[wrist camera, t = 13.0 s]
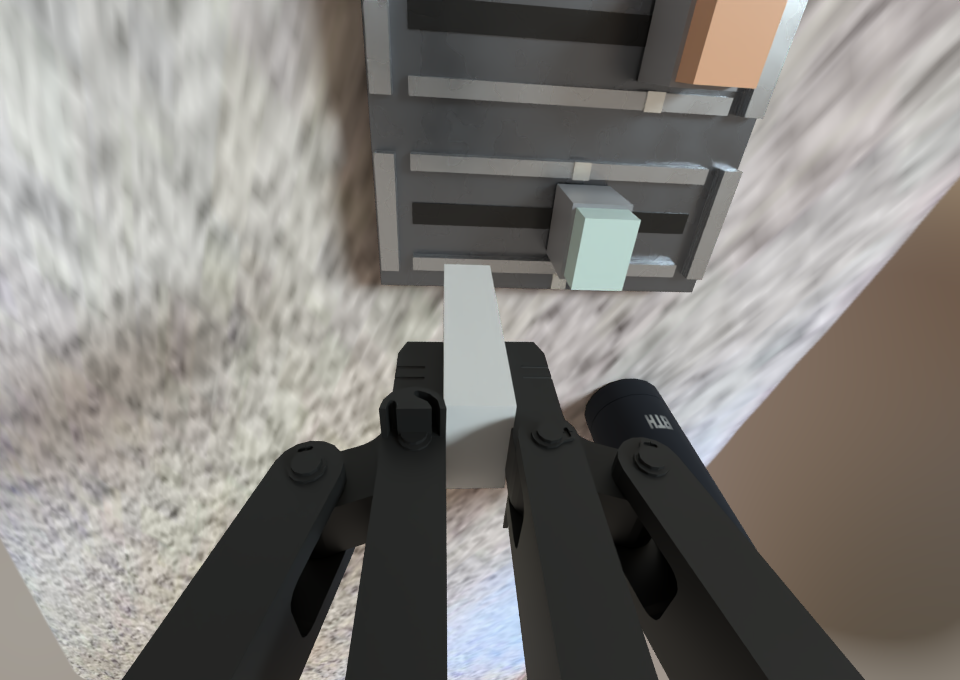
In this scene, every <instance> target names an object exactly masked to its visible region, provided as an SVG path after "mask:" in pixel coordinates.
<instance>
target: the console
mask: <svg viewBox="0 0 960 680" xmlns="http://www.w3.org/2000/svg"><path fill="white" fill-rule="evenodd" d="M807 1H808V0H788V1H787V4H786V7H785V10H784V12H783V15H782V18H781V21H780V24H779V26H778V29H777V32H776V35H775V37H774V40H773V43H772V46H771V49H770V51H769V54H768V57H767V60H766V62H765V65H764V68H763V71H762V74H761V76H760V79H759V82H758V85H757V87H756V89H752V88H737V91H736V92H735V91H721V90H706V89H692V88H678V87H667V86H661V85H655V84H649V83H644V82H638V77H639V73H640V68H641V64H642V60H643V55H644V51H645V46H646V42H647V38H648V33H649V29H650V24H651V20H652V16H653V11H654V7H655V2H656V0H361V7H362V21H363V35H364V49H365V63H366V77H367V91H368V105H369V119H370V133H371V147H372V161H373V175H374V189H375V203H376V217H377V231H378V245H379V260H380V274H381V285H420V286H444V264H459V265H490V268H491V273H492V279H493V284H494V287H500V288H539V289H562V290H565V289H571V288H570V287H569V285H568V283H567V281H566V279H559V277H558V275H557V273H556V271H555V269H554V267H553V265H552V263H551V261H550V259H549V257H548V255H547V253H546V251H547V245H548V239H549V232H550V226H551V219H552V213H553V206H554V200H555V194H556V187H557V184H575V185H596V186H611V187H612V188H613V189H614V190H615V191H617V192H618V193H619V194H620V195H621V196H623V197H624V198H625V199H626V200H627V201H629V202H630V203H631V204H632V205H633V210H632V213H633V214H634V215H635V216H636V217H638V218H639V219H640V220H641V222H640V226H639V230H638V233H637V237H636V241H635V244H634V248H633V252H632V255H631V259H630V263H629V266H628V270H627V274H626V277H625V281H624V285H623V288H622V291H659V292H692V291H693V288H694V285H695V283H696V280H702V278H703V275H704V273H705V270H706V267H707V265H708V262H709V259H710V257H711V254H712V251H713V249H714V246H715V244H716V241H717V238H718V236H719V233H720V230H721V228H722V225H723V223H724V220H725V217H726V215H727V212H728V209H729V207H730V204H731V201H732V199H733V196H734V194H735V191H736V188H737V186H738V183H739V180H740V178H741V175H742V173H743V172H741V171H739V170H738V167H739V164H740V162H741V159H742V156H743V154H744V151H745V148H746V146H747V143H748V140H749V138H750V135H751V132H752V130H753V127H754V124H755V122H756V119H757V118H761V119H763V117H764V115H765V112H766V109H767V107H768V104H769V101H770V99H771V96H772V94H773V91H774V88H775V86H776V83H777V80H778V78H779V75H780V73H781V70H782V67H783V65H784V62H785V59H786V57H787V54H788V51H789V49H790V46H791V44H792V41H793V38H794V36H795V33H796V30H797V28H798V25H799V23H800V20H801V17H802V15H803V12H804V9H805V7H806V4H807Z"/></svg>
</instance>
